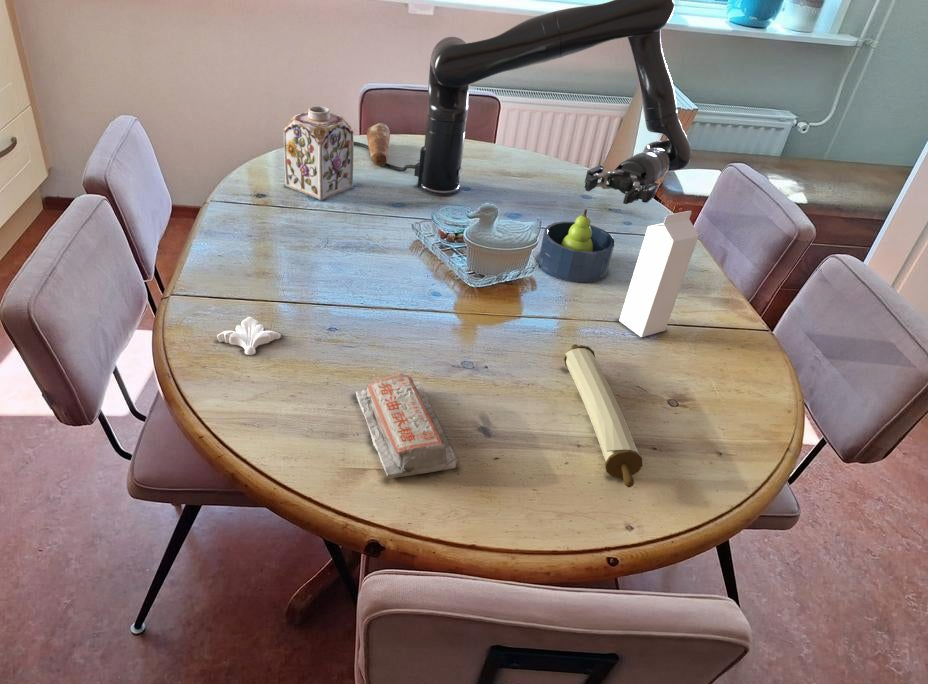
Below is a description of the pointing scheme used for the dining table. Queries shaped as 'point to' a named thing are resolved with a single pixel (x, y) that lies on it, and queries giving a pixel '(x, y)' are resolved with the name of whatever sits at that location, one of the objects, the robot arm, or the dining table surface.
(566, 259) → the pot
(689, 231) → the milk
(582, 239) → the pear
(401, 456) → the packaged product
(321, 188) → the decorative jar
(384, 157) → the bread
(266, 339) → the acanthus leaf ornament
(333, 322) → the dining table surface
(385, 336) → the dining table surface
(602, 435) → the rolling pin
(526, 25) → the robot arm
